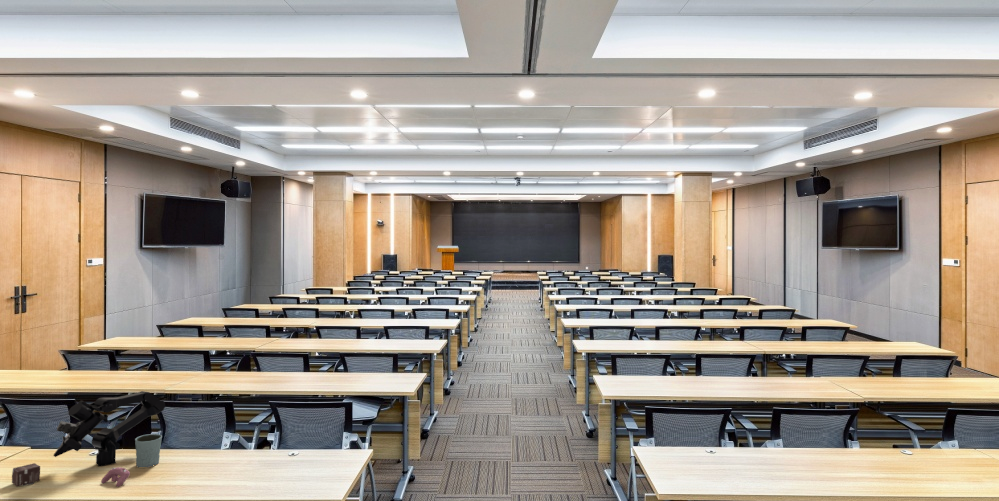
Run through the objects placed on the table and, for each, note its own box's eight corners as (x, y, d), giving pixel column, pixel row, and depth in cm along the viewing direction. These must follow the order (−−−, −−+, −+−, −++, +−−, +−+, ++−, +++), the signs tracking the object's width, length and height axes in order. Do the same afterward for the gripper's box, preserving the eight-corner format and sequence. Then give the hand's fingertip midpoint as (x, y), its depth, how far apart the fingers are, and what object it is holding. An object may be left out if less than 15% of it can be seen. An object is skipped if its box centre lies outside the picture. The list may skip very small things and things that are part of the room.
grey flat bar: (33, 474, 232) (33, 473, 232) (33, 483, 223) (33, 483, 223) (23, 476, 230) (23, 475, 230) (23, 485, 221) (23, 485, 221)
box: (40, 480, 225) (17, 487, 219) (34, 477, 228) (11, 483, 222) (40, 466, 225) (17, 471, 219) (34, 462, 228) (12, 468, 222)
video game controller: (126, 487, 225) (134, 469, 228) (116, 486, 221) (124, 468, 224) (108, 484, 228) (116, 466, 231) (99, 482, 224) (107, 464, 227)
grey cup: (155, 458, 253) (156, 432, 253) (165, 463, 247) (166, 437, 247) (130, 465, 245) (131, 437, 245) (140, 470, 239) (140, 442, 239)
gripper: (70, 409, 242) (37, 439, 235) (72, 419, 228) (36, 452, 221) (92, 423, 247) (60, 453, 240) (95, 434, 233) (61, 467, 226)
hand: (54, 456), depth 232 cm, fingers closed
